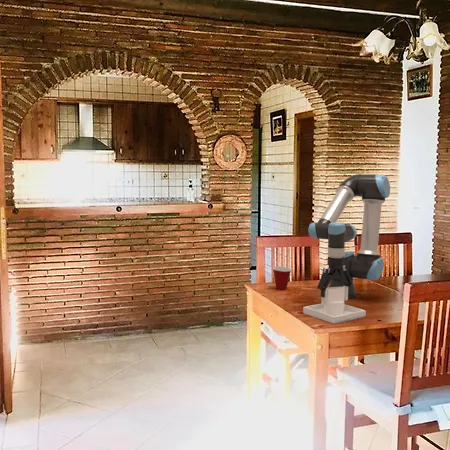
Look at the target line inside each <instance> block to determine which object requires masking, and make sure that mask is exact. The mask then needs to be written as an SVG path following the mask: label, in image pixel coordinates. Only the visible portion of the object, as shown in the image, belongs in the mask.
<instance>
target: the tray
mask: <svg viewBox="0 0 450 450" xmlns="http://www.w3.org/2000/svg"><path fill="white" fill-rule="evenodd" d="M302 310H303V311H302V313H303V314H305V315H307V316H311V317H313V318H316V319H319V320H322V321H325V322H328V323H331V324H334V325H335V324H340V323H344V322H349V321H354V320H357V319H358V318H359V319H362V318H366V314H367V311H366V309H362V308H358V307H355V306H352V305H348V304H345V303H344V314H343V315H338V316H332V315H329V314H326V313H324V304H321V303H317V304H312V305H307V306H303V309H302Z"/></svg>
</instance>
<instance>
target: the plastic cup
mask: <svg viewBox="0 0 450 450" xmlns="http://www.w3.org/2000/svg"><path fill="white" fill-rule="evenodd" d="M272 270H273V277H274V284H275V288H276V290H277V289H278V291H286V290H287V287H288V283H289V279H290V274H291V272H292V271H293V269H292V268H290V267H286V266H273V267H272ZM285 289H286V290H285Z"/></svg>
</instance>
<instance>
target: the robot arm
mask: <svg viewBox="0 0 450 450" xmlns="http://www.w3.org/2000/svg"><path fill="white" fill-rule="evenodd" d="M335 192H336V194H335V195H334V197H333V198H332V200H331V202H330V203H329V204H328V206H327V208H325V210H324V212H323V213H322V215H321V217H320V218H319V220H317V222H316V221H315V222H311V223H310V224H309V226H308V231H307V232H308V236H309V237H310V238H312V239H317V240H319V239H320V240H327V263H326V264H327V265H328V268H327V267H323V268H322V274H321V276H320V279H319V280H318V284H317V286H316V288H317V290H320V297H321V299H320V300H321V303H320V304H324V305H327V290H326V288H328V287H344V288H345V291H344V301H348V300H349V299H354V298H356V296H357V290H356V288H355V282H354V279H362V280H367V281H377V280H379V279H380V278H381V276H382V274H383V272H384V266H385V264H384V263H385V262H384V259H383V258H382V257H381V253H380V252H379V240H380V229H381V228H380V226H381V216H382V215H381V213H382V205H383V204H384V203H385V202H386V199H387V198H389V197H390V194H391V183H390V181H389V178H388V176H387V175H385V174H376V173H375V174H374V173H373V174H370V173H369V174H368V173H367V174H364V173H363V174H362V173H357V174H353V175H350V176H348V177H347V178H346V179H345V180H343V181H342V182H341V183H340V184H339V185H338V187H337V188H336V190H335ZM356 197H360V198H361V201H362V202H363V206H364V207H363V215H362V227H361V228H362V229H361V238H360V249H359V250H358V251H357V252H356V255H355V252H354V251H345V250H346V247H345V244H346V242H349V241H352V240H354V239H355V238H356V237H357V233H358V231H357V229H356V227H355V226H354V225H352V224H345V222H337V221H338V220H339V218H340V216H341V215H342V214H343V211H344V210H345V208H346V206H347V205H348V204H349V202H350V201H352V200H353V199H354V198H356Z"/></svg>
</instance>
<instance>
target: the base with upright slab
mask: <svg viewBox="0 0 450 450" xmlns="http://www.w3.org/2000/svg"><path fill="white" fill-rule="evenodd" d="M326 290H327V305H324V313H326V314H329V315H332V316H338V315H343V314H344V304H345V300H344V291H345V288H344V287H329V286H328V287H327V288H326Z"/></svg>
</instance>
